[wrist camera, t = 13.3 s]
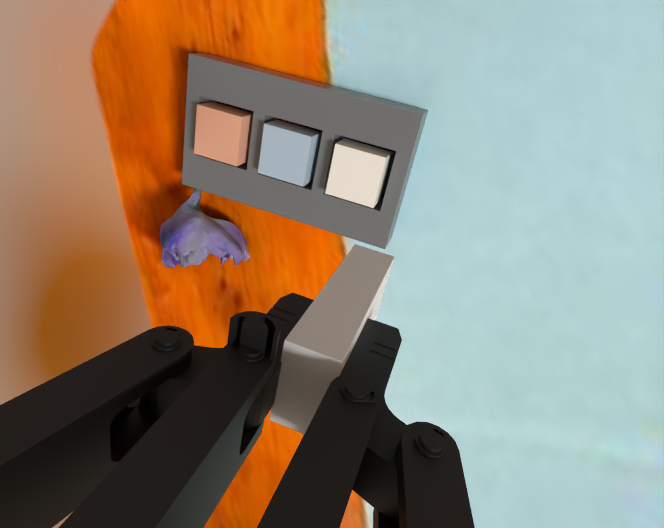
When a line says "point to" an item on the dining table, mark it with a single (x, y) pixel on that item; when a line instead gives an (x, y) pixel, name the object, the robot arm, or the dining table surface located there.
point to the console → (335, 121)
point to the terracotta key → (223, 133)
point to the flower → (199, 237)
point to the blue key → (289, 152)
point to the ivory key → (358, 172)
